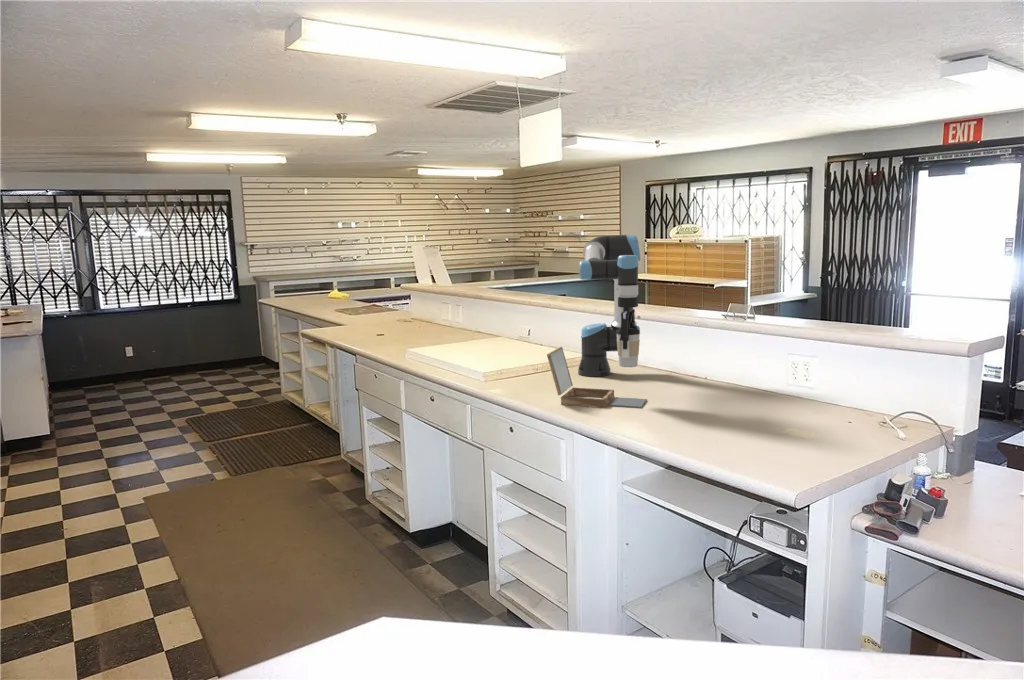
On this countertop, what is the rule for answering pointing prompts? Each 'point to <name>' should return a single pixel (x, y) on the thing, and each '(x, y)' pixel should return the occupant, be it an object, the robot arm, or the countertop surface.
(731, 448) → the countertop surface
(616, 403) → the mat
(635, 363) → the coffee cup
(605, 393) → the tray
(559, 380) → the lid
